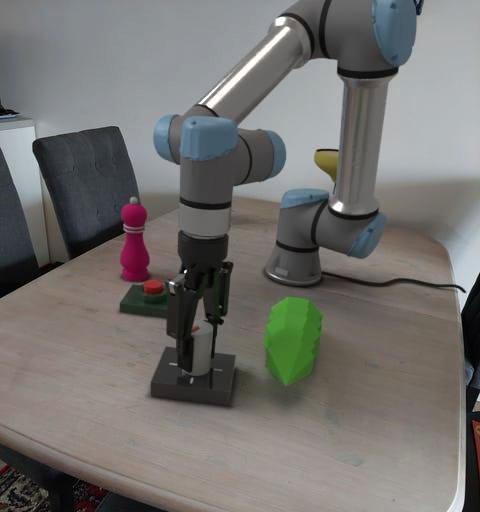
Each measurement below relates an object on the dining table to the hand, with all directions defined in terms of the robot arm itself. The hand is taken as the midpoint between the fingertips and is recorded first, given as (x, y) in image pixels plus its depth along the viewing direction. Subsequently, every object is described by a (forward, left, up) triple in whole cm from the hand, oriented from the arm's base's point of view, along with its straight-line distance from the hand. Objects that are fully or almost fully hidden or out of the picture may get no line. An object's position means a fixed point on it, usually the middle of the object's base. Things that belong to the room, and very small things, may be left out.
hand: (196, 361), depth 80 cm
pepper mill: (+22, -40, -4) cm, 46 cm away
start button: (+14, -26, -1) cm, 30 cm away
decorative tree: (-16, -9, -4) cm, 19 cm away
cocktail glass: (-32, -106, -4) cm, 111 cm away
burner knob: (0, 0, -1) cm, 1 cm away
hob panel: (0, 0, -4) cm, 4 cm away
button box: (+14, -26, -4) cm, 30 cm away
